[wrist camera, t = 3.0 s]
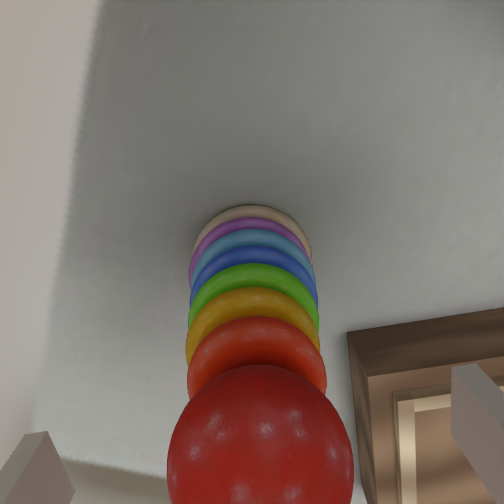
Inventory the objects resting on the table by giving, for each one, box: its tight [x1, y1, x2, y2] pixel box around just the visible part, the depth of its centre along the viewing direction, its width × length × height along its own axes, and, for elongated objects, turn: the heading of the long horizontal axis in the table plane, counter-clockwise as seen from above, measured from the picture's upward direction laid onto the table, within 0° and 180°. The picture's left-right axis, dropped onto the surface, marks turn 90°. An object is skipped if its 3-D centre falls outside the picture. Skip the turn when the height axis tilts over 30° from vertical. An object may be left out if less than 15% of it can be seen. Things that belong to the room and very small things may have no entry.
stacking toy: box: [167, 205, 354, 504], centre depth 17 cm, size 8×8×19 cm
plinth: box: [347, 308, 504, 504], centre depth 28 cm, size 16×16×6 cm
